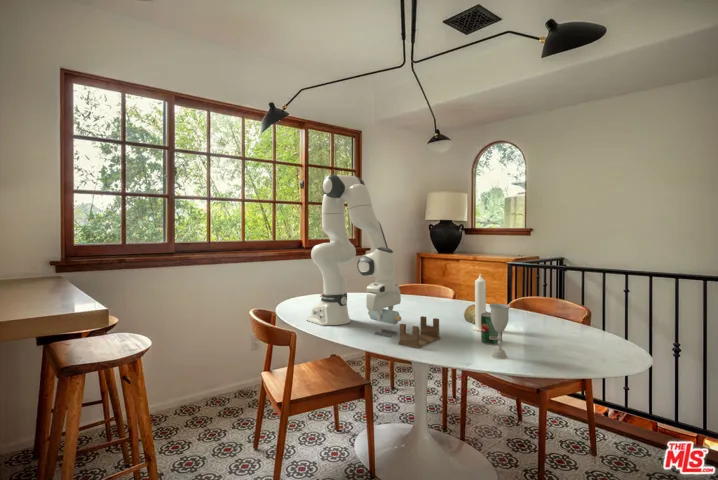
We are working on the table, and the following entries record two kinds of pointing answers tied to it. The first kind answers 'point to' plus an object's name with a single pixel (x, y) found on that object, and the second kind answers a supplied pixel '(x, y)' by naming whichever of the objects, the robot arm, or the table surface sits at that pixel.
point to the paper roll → (386, 316)
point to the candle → (479, 301)
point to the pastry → (470, 314)
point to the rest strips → (386, 332)
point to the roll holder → (424, 337)
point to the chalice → (499, 325)
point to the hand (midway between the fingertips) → (384, 317)
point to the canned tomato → (488, 330)
